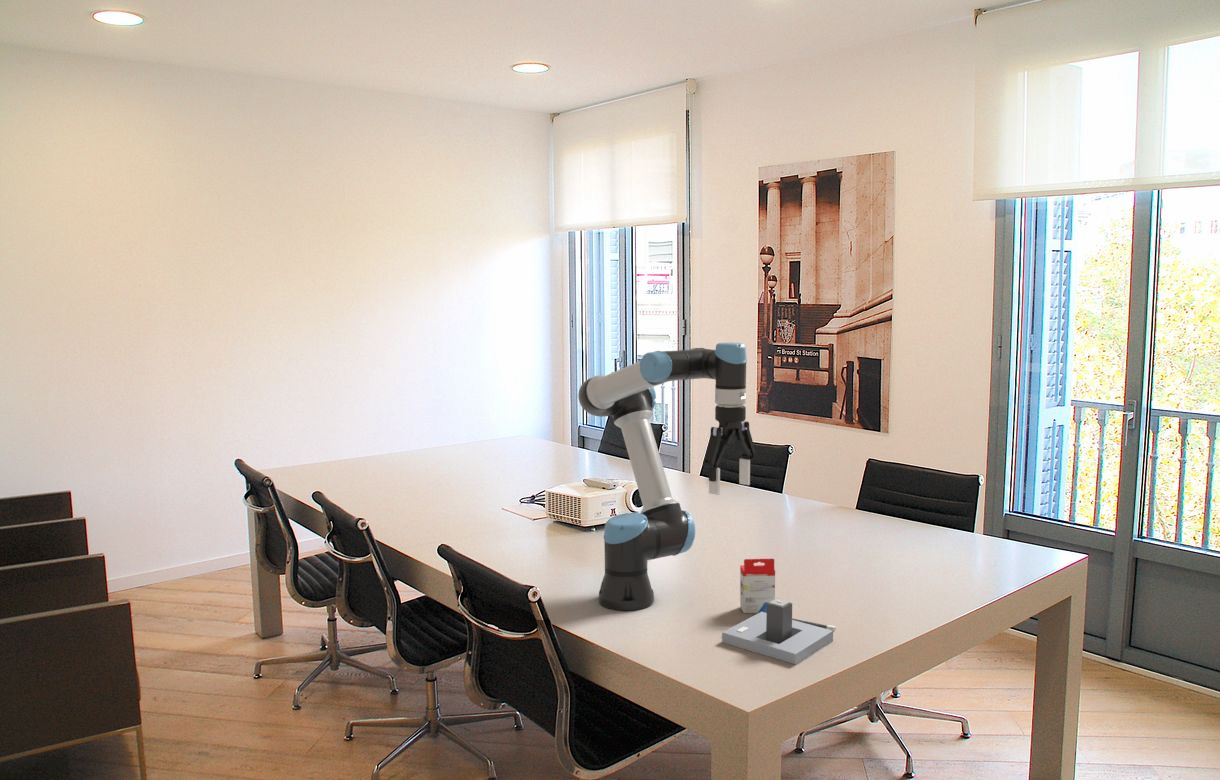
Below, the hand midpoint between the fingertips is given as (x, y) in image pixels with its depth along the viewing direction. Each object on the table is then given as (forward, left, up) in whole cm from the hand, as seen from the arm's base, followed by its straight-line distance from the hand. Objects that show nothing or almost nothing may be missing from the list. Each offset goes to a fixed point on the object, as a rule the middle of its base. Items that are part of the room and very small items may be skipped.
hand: (729, 489), depth 226 cm
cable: (+15, +11, -35) cm, 39 cm away
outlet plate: (+16, -3, -35) cm, 38 cm away
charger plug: (+17, -4, -35) cm, 39 cm away
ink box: (+1, +12, -35) cm, 37 cm away
